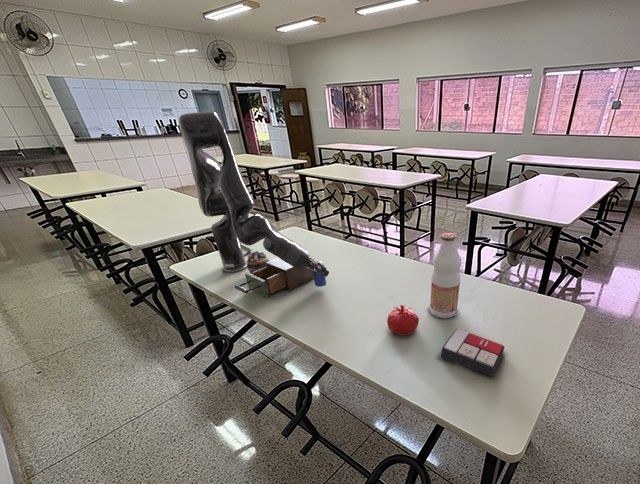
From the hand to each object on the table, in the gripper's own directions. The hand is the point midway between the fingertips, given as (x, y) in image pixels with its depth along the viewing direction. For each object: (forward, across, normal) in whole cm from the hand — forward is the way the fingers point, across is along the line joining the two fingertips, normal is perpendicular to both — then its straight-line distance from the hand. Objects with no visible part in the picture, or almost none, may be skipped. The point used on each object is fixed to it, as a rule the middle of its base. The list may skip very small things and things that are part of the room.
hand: (323, 272), depth 124 cm
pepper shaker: (+2, 0, +4) cm, 5 cm away
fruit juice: (+13, -47, -4) cm, 49 cm away
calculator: (+2, -66, +7) cm, 66 cm away
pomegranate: (+1, -42, +8) cm, 43 cm away
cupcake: (-1, +32, +11) cm, 33 cm away
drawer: (-7, +16, +16) cm, 24 cm away
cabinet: (+3, +16, +7) cm, 18 cm away
